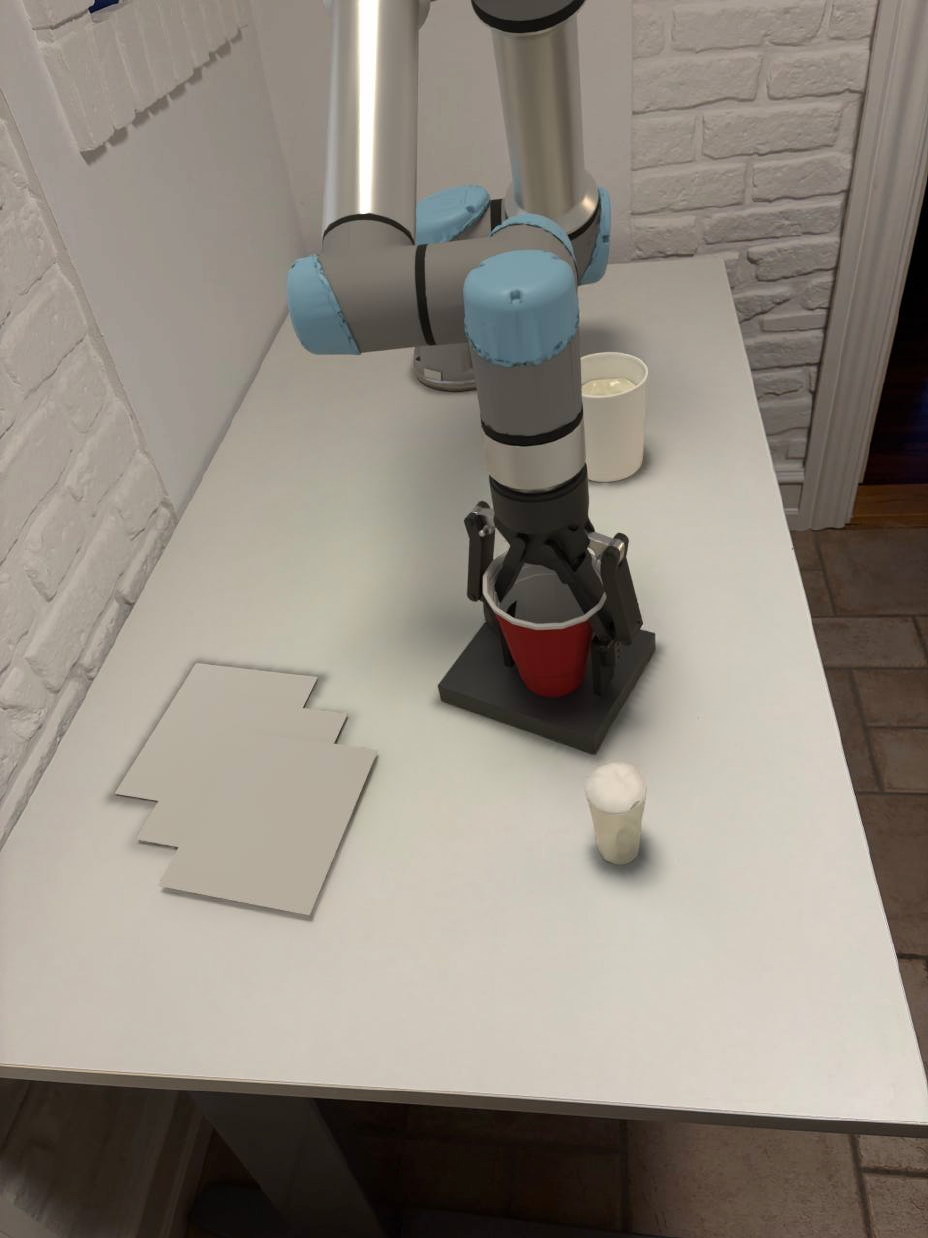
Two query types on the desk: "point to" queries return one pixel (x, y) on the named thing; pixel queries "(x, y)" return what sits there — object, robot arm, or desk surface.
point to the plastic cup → (543, 627)
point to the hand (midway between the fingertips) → (558, 670)
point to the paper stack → (248, 787)
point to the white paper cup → (613, 414)
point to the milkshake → (617, 810)
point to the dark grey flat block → (507, 698)
